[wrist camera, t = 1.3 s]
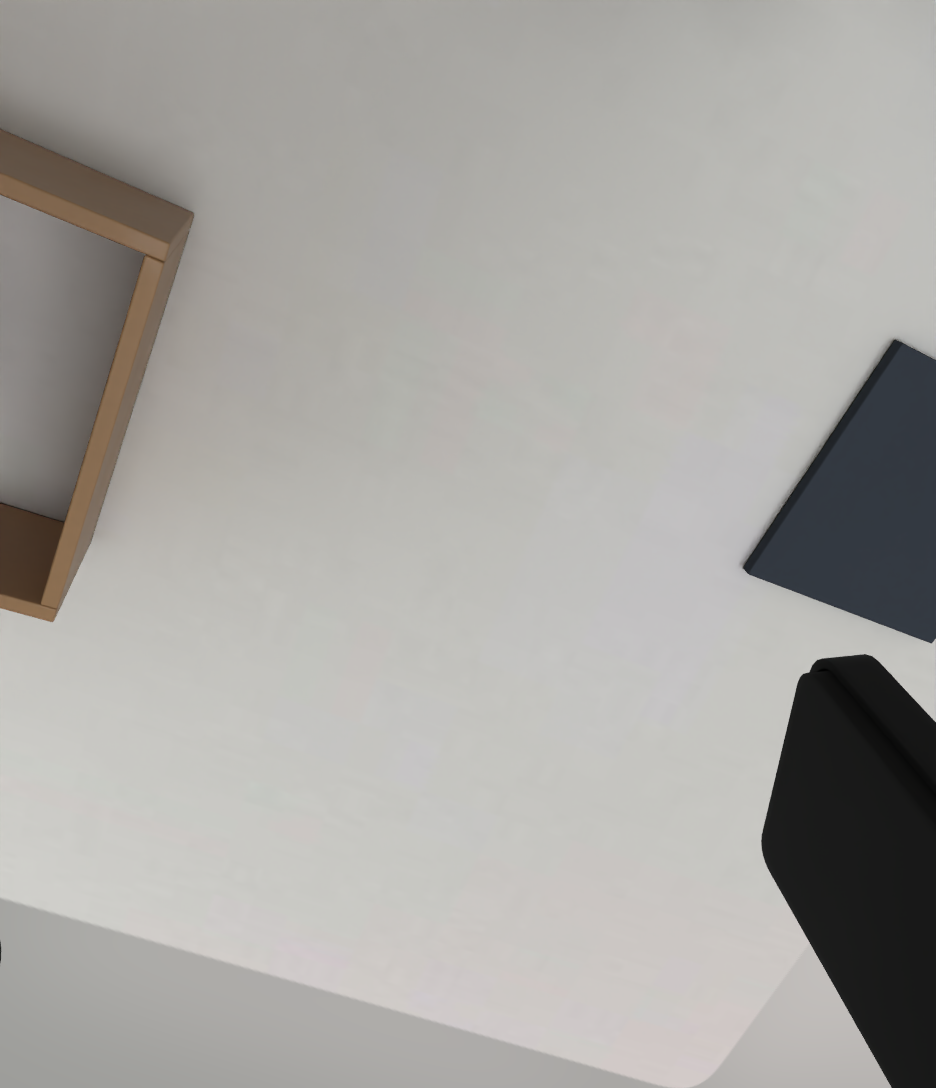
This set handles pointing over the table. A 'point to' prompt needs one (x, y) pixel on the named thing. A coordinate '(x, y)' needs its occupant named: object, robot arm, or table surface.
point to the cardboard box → (159, 232)
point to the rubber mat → (868, 506)
